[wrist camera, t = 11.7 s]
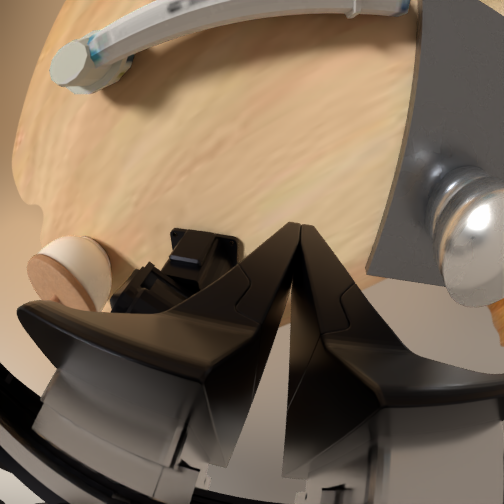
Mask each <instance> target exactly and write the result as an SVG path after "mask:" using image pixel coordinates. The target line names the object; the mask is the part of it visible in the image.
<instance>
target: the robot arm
mask: <svg viewBox="0 0 504 504" xmlns="http://www.w3.org/2000/svg"><path fill="white" fill-rule="evenodd" d="M175 233H177V235H176V234H175ZM170 236H171V242H172V249H173V251H172V253H171V254H170V255H169V259H168V260H167V262H166V263H165V265H164V266H163V268H162V269H161V271H160V270H159V269H157V268H156V267H154V266H155V265H154V264H152V263H151V262H149V263H148V264H147V265H146V266H145V268H144V267H143V266H142V268H141V269H140V270H137V269H135V270H134V272H133V273H132V274H131V276H130V277H129V278H128V280H127V281H126V282H125V283H124V284H123V285H122V286H121V287H120V288H119V289H118V290H117V291H116V292H115V293H114V294H113V296H112V297H111V299H110V304H111V308H112V310H111V313H107V312H92V311H84V310H78V309H73V308H70V307H67V306H64V305H62V304H60V303H57V302H54V301H51V300H37V301H31V302H28V303H26V304H23V305H22V306H20V307H19V308H18V309H17V316H18V319H19V321H20V323H21V324H22V326H23V327H24V329H25V330H26V332H27V333H28V334H29V335H30V337H31V338H32V339H33V341H34V342H35V343H36V345H37V346H38V347H39V348H40V350H41V351H42V352H43V353H44V355H45V356H46V357H47V358H48V359H49V360H50V361H51V363H52V364H53V365H54V366H55V367H56V368H57V370H56V372H55V373H54V375H53V377H52V379H51V380H50V382H49V384H48V386H47V387H46V389H45V391H44V393H43V395H42V397H40V396H39V395H37V394H36V393H35V392H33V391H32V390H31V389H29V388H28V387H27V386H26V385H24V384H23V383H22V382H21V381H19V380H18V379H17V378H16V377H14V376H13V375H12V374H11V373H10V372H9V371H8V370H7V369H6V368H5V367H4V366H3V365H2V364H1V363H0V468H1V469H3V470H6V471H8V472H10V473H13V474H14V475H15V476H16V477H17V478H18V479H19V480H20V481H21V482H22V483H23V484H25V485H26V486H27V487H28V488H29V489H30V490H31V491H33V492H34V493H35V494H36V495H37V496H39V497H40V498H41V499H42V500H44V501H45V503H36V504H282V503H273V502H264V501H258V500H252V499H246V498H239V497H235V496H230V495H225V494H221V493H217V492H213V491H209V490H208V489H209V486H210V482H211V478H210V477H209V476H208V475H207V474H206V473H207V469H208V466H209V464H212V465H216V466H220V467H224V468H226V467H227V466H228V463H229V460H230V458H231V456H232V453H233V451H234V448H235V446H236V443H237V441H238V438H239V436H240V433H241V431H242V428H243V426H244V423H245V420H246V418H247V415H248V413H249V410H250V407H251V404H252V402H253V399H254V396H255V394H256V391H257V388H258V385H259V383H260V380H261V377H262V374H263V372H264V369H265V366H266V363H267V360H268V357H269V354H270V351H271V348H272V345H273V342H274V339H275V336H276V333H277V330H278V327H279V324H280V321H281V318H282V315H283V312H284V309H285V306H286V302H287V299H288V296H289V293H290V289H291V285H292V289H291V330H290V331H291V332H290V360H289V382H288V400H287V416H286V430H285V443H284V444H285V445H284V456H283V468H282V477H283V478H292V479H305V480H307V483H306V489H305V491H304V492H297V494H296V498H295V503H294V504H504V435H503V427H502V421H503V420H504V374H486V373H480V372H475V371H471V370H467V369H463V368H459V367H455V366H452V365H448V364H445V363H441V362H438V361H434V360H431V359H427V358H424V357H421V356H418V355H416V354H414V353H413V352H412V351H410V350H409V349H408V348H407V347H406V346H405V345H404V344H403V343H402V341H401V340H400V339H399V338H398V337H397V335H396V334H395V333H394V332H393V330H392V329H391V328H390V327H389V326H388V324H387V323H386V322H385V321H384V320H383V319H382V317H381V316H380V315H379V314H378V312H377V311H376V310H375V309H374V307H373V306H372V305H371V304H370V303H369V301H368V300H367V298H366V297H365V296H364V294H363V293H362V292H361V290H360V289H359V287H358V286H357V284H355V282H354V280H353V279H352V277H351V276H350V275H349V273H348V272H347V270H346V269H345V267H344V266H343V265H342V263H341V262H340V261H339V259H338V258H337V256H336V255H335V254H334V252H333V251H332V250H331V248H330V247H329V246H328V244H327V243H326V242H325V240H324V239H323V238H322V236H321V235H320V234H319V232H318V231H317V230H316V228H315V227H314V226H312V225H306V224H302V225H301V224H299V223H294V222H288V223H287V224H286V225H284V226H283V227H282V228H281V229H280V230H278V231H277V232H276V233H275V234H274V235H272V236H271V237H270V238H269V239H267V240H266V241H265V242H264V243H263V244H261V245H260V246H259V247H258V248H257V249H255V250H254V251H253V252H252V253H251V254H249V255H248V256H247V257H246V258H244V259H243V260H242V261H241V262H240V263H238V239H237V238H236V237H233V236H227V235H221V234H214V233H210V232H203V231H197V230H190V229H189V230H186V229H179V228H174V229H173V230H172V231H171V232H170ZM230 241H233V242H234V243H231V242H230ZM292 279H293V280H292ZM0 504H5V503H4V502H3V501H2V500H0Z"/></svg>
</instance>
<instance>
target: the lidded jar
mask: <svg viewBox="0 0 504 504" xmlns="http://www.w3.org/2000/svg"><path fill="white" fill-rule="evenodd" d="M110 269H111V264H110V260H109V257H108V255H107V254H106V252H105V250H104V249H103V248H102V247H101V246H100V245H99V244H98V243H97V242H96V241H94V240H93V239H91V238H89V237H86V236H81V237H80V236H74V235H69V236H63V237H60V238H57V239H56V240H54V241H52V242H50V243H49V244H47V245H46V246H45V247H44V248H42V249H41V250H40V251H39V252H38V253H37V254H36V255H34V256H33V257H32V258H31V259H30V260H29V261H28V264H27V272H28V276H29V279H30V282H31V284H32V285H33V287H34V289H35V291H36V293H37V294H38V295H39V297H40V298H41V299H42V300H51V301H54V302H57V303H60V304H62V305H64V306H67V307H70V308H73V309H78V310H84V311H92V312H101V311H102V309H103V308H104V306H105V304H106V302H107V300H108V297H109V295H110V291H111V286H112V276H111V270H110Z"/></svg>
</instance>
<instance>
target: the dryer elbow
mask: <svg viewBox="0 0 504 504" xmlns="http://www.w3.org/2000/svg"><path fill="white" fill-rule="evenodd" d="M432 251H433V256H434V260H435V262H436V265H437V267H438V269H439V271H440V274H441V276H442V278H443V281H444V283H445V285H446V288H447V290H448V292H449V294H450V296H451V297H452V298H453V299H454V301H456V302H457V303H459V304H461V305H463V306H467V307H482V306H486V305H490V304H492V303H495V302H497V301H499V300H501V299H502V298H504V179H502V178H498V177H492V176H488V177H482V178H478V179H476V180H473V181H471V182H469V183H468V184H466V185H465V186H463V187H462V188H461V189H460V190H458V191H457V192H456V193H455V194H454V195H453V196H452V198H451V199H450V200H449V201H448V202H447V204H446V206H445V207H444V209H443V210H442V212H441V214H440V216H439V218H438V221H437V223H436V226H435V229H434V234H433V240H432Z"/></svg>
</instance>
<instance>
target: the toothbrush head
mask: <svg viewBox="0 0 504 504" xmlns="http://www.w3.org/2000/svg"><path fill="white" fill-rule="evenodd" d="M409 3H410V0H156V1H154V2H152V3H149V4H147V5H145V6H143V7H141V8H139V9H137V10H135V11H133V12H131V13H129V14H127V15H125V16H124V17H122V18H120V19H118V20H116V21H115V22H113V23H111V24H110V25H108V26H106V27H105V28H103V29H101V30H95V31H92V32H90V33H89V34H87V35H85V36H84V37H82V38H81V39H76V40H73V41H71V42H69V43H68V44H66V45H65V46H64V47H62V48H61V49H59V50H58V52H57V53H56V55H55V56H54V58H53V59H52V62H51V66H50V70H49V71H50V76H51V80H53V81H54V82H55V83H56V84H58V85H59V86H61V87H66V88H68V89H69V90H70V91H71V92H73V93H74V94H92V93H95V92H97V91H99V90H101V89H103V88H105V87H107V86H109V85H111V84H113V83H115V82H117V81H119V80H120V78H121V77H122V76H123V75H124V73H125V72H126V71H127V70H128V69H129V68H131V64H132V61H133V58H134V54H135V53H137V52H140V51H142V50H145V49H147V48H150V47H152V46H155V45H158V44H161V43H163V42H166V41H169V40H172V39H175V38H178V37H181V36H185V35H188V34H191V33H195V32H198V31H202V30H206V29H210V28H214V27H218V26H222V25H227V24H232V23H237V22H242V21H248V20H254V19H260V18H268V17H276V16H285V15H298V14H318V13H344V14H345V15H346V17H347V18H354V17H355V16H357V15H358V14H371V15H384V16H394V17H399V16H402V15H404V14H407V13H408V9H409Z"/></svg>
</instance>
